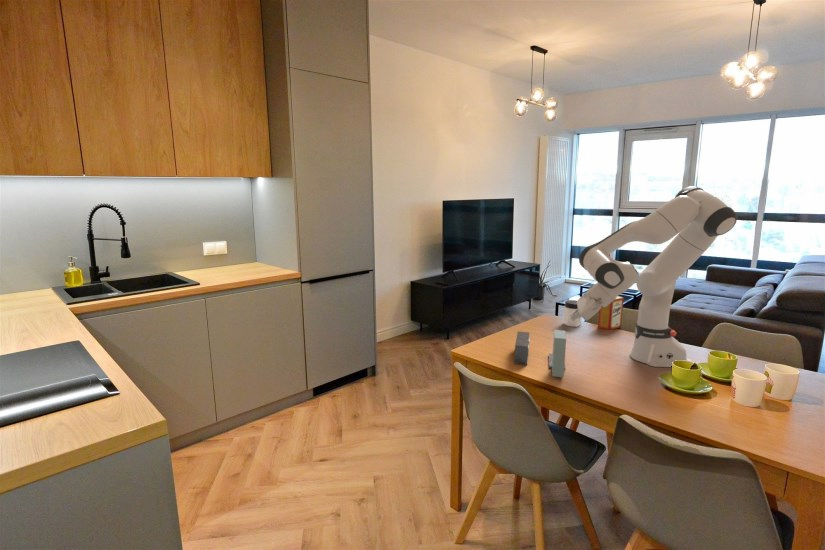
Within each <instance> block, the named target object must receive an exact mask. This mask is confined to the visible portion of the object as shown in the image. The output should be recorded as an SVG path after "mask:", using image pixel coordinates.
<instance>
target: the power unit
mask: <svg viewBox="0 0 825 550" xmlns="http://www.w3.org/2000/svg"><path fill="white" fill-rule="evenodd" d="M530 340H531V337H530V332H527V331H517V332H516V339H515V343H514V344H515V345H514V365H518V366H519V365H520V366H527V365H528V358H529V353H530Z"/></svg>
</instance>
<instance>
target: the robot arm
mask: <svg viewBox="0 0 825 550" xmlns="http://www.w3.org/2000/svg"><path fill="white" fill-rule="evenodd" d="M737 219H738V214H737V213H736V211H735V210H734V209H733V208H731V207H730V206H728V204H726V203H725V202H723V200H721V199H720V198H718V197H717V196H714V195H713V194H711V193H709V192H708V191H705V190H704V189H703V188H702V187H700V186H695V185H690V186H686V187H684V188H682V189H681V190H679V191H678V193H677V194H676V195H675V196H674V198H672V199H670V200H668V201H667V202H665V203H664V204H662V205H661V206H659V207H658V208H656V209H655V210H654V211H653V212H651V213H650V214H647V215H646V216H645V217H643V218H640V219H639V220H636V221H632V222H630V223H627V224H625V225H624V226H622V227H621V228H618V229H617V230H615V231H614V232H613V233H611V234H609V235H607V236H606V237H604V238H603V239H602V240H600V241H598V242H595V243H592V244H589V245H588V246H586V247H585V248H583V249H582V251H581V252H580V254H579V258H578V262H579V264H580V266H581V267H582V268H583V269H584V270H585V271H586V272H588V274H589V275H590V276H591V277H592V279H594V280H595V282H596V283H595V284H593V285H591V286H590V287H588V290H587V291H585V292H584V294H582V296H580V297H579V299H577V300H576V301H577V302H576V303H577V306H578V308H577V309H576V310H575V312H574V313H573V314H572V315H570V318H571V320H572V321H574V320H576V319H577V318H579V317H582V319H583V320H584V321H585V322H586V321H589V320H590V319H591V318H592V317H594V316H595V315H596V314H597V313H599V310H600V309H601V306H603V307H604V308H605V307H606V306H607V305H609V304H610V303H611V302H612V301H614V300H615V299H616V297H617V296H620V295H621V294H624V293H625V292H626V291H628V290H629V289H630V288H631V287H633V285H635V284H636V288H637V291H639V292H640V293H641V295H642V296H641V300H640V301H639V305H638V313H637V322H636V324H635V329H634V337H635V338H634V341H633V342H634V343H633V346H632V348H631V351H630V354H629V357H630V358H632V359H633V360H635V361H636V362H637V361H638V362H641V363H644V364H646V365H648V366H651V367H653V368H654V367H655V368H658V367H659V368H672V367H671V366H672V362H673V361H675V360H686V361H692V359H691V358H690V357H689V356H687V355H688V354H687V350H686V348H685V346H684V345H683V344H682V343H680V342H679V340H677V339H676V338H675V337H676V336H677V332H676V331H675V329H672V328H671V327H670V326H669V318H670V311H671V307H672V306H671V305H672V301H673V297H674V293H675V288H676V283H677V280H678V279H679V278H681V276H682V275H684V273H686V271H687V270H688V269H689V268H691V266H693V265H694V263H695V262H697V261H698V259H699V258H700V257H701V256H702V255H703V254H704V253H705V252H706V251H707V250H708V249H709V248H710V247H711V245H712V244H713V243H714V241H716V239H717V237H720V236H722V235H726V233H728V232H730V231H731V230H732V229H733V228H734V227H735V225H736V224H737ZM669 240H671V242H669V244H668V245H667V246H666V247H665V248H664V249H663V250H662V251H661V252H660V253H659V254H658V255H657V256H656V257H655V258H654V259H652V261H651V262H650V263H649V264H648V265H647V266H646V267H645V268H644V269H643V270H642V272H640V274H639V272H638V270H637V268H635V266H634V265H633V264H632V263H631V262H630V261H619V260H616V259H613V258H612V257H611V256H610V255H611V254H612V253H613V252H616V251H617V250H618V249H620V248H622V247H623V246H625V245H627V244H629V243H633V242H638V243H639V242H640V243H646V244H649V245H661V244H665V243H666V242H668V241H669Z"/></svg>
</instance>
